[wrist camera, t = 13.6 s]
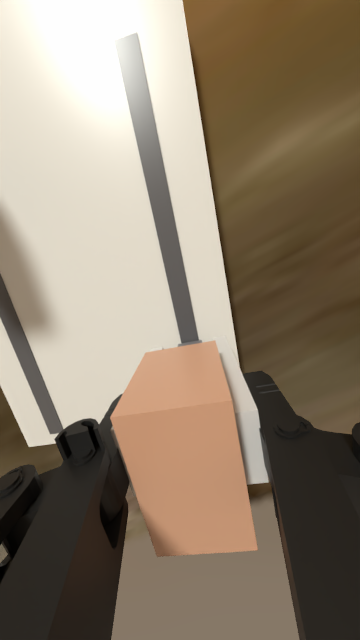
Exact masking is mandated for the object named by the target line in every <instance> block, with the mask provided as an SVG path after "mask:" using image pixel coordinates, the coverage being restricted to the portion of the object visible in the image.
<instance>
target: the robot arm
mask: <svg viewBox="0 0 360 640" xmlns="http://www.w3.org/2000/svg"><path fill="white" fill-rule="evenodd" d="M214 340H215V341H216V345H217V348H218V352H219V356H220V359H221V363H222V366H223V370H224V373H225V377H226V381H227V384H228V388H229V391H230V395H231V398H232V403H233V409H234V415H235V420H236V426H237V432H238V438H239V443H240V449H241V455H242V461H243V467H244V472H245V478H246V484H247V485H248V484H258V483H267V482H268V477H269V480H270V483H271V486H272V493H273V499H274V506H275V513H276V518H277V521H278V526H279V531H280V537H281V542H282V547H283V553H284V558H285V563H286V568H287V574H288V579H289V585H290V590H291V596H292V600H293V606H294V612H295V617H296V622H297V628H298V633H299V638H300V640H360V422H359V423H357V424H355V426H354V427H353V429H352V435H351V434H342V433H334V432H327V431H322V430H319V429H316V428H314V427H313V426H312V425H311V423H310V422H309V421H307V420H306V419H304V418H303V417H301V416H298V415H296V414H295V412H294V411H293V409H292V408H291V406H290V405H289V403H288V402H287V400H286V399H285V397H284V396H283V394H282V393H281V391H279V388H278V387H277V385H275V383H274V381H273V380H272V378H271V377H270V376H269V375H268V374H266V373H264V372H262V371H257V372H251V373H245V374H242V372H241V370H240V368H239V366H238V363H237V361H236V359H235V356H234V354H233V352H232V350H231V347H230V345H229V343H228V340H227V338H226V336H220V337H215V338H213V341H214ZM163 349H164V348H163V347H160V348H154V349H151V350H150V352H151V351H157V350H163ZM122 395H123V394H120V395H119V396H118V397H117V398H116V399H115V400H114V401H113V402H112V404H111V405H110V407H109V409H108V411H107V412H106V414H105V415H104V418H103V419H102V421H101V422H100V424H98V422H97V421H96V419H92V418H87V419H82V420H79V421H77V422H74V423H73V424H71V425H69V426H67V427H66V428H65V429H64V430H62V431H61V432H60V433H59V434H58V435H57V436H56V438H55V442H56V444H57V446H58V449H59V451H60V453H61V456H62V458H63V460H64V461H63V463H62V465H61V466H60V467H58V468H55V469H52V470H50V471H47V472H45V473H42V474H40V475H38V473H37V471H36V469H35V467H34V466H33V465H29V464H28V465H24V466H20V467H18V468H15V469H13V470H11V471H10V472H8V473H7V474H5V475H4V476H2V477H1V478H0V545H1V543H2V545H3V546H4V548H5V550H6V552H7V553H8V555H7V556H6V558H5V559H4V560H3V561H2V562H1V563H0V640H111V636H112V628H113V621H114V613H115V606H116V599H117V591H118V584H119V577H120V569H121V561H122V554H123V547H124V540H125V533H126V525H127V518H128V503H127V501H126V498H125V496H126V493H127V489H128V486H129V485H130V487H131V490H132V493H133V496H136V493H135V490H134V487H133V484H132V481H131V478H130V475H129V472H128V469H127V466H126V463H125V460H124V457H123V455H122V452H121V449H120V446H119V443H118V440H117V437H116V434H115V431H114V428H113V425H112V422H111V419H110V417H111V415H112V413H113V411H114V409H115V408H116V406H117V404H118V402H119V400H120V398H121V397H122ZM267 474H268V475H267Z"/></svg>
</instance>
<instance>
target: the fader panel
mask: <svg viewBox="0 0 360 640" xmlns="http://www.w3.org/2000/svg"><path fill="white" fill-rule="evenodd" d="M220 336H226V338H227V340H228V343H229V345H230V347H231V350H232V352H233V354H234V356H235V359H236V361H237V363H238V366H239V359H238V353H237V346H236V340H235V334H234V327H233V321H232V314H231V308H230V302H229V295H228V289H227V282H226V276H225V270H224V263H223V257H222V251H221V244H220V238H219V231H218V225H217V219H216V212H215V206H214V199H213V193H212V187H211V180H210V174H209V167H208V161H207V155H206V148H205V142H204V136H203V129H202V123H201V116H200V110H199V104H198V97H197V91H196V84H195V78H194V72H193V65H192V59H191V52H190V46H189V40H188V33H187V27H186V21H185V14H184V8H183V1H182V0H0V386H1V388H2V390H3V392H4V394H5V396H6V398H7V401H8V403H9V405H10V407H11V409H12V411H13V414H14V416H15V418H16V420H17V422H18V424H19V427H20V429H21V431H22V433H23V435H24V437H25V439H26V442H27V444H28V446H29V447H32V446H40V445H47V444H55V443H56V442H55V438H56V436H57V435H58V434H59V433H60V432H61V431H62V430H64V429H65V428H66V427H67V426H69V425H71V424H73V423H74V422H77V421H79V420H82V419H87V418H92V419H96V421H97V422H98V424H100V422H101V421H102V419H103V418H104V415H105V414H106V412H107V411H108V409H109V407H110V405H111V404H112V402H113V401H114V400H115V399H116V398H117V397H118V396H119V395H120V394H123V393H124V391H125V389H126V387H127V386H128V384H129V382H130V380H131V378H132V376H133V375H134V373H135V371H136V369H137V367H138V365H139V364H140V362H141V360H142V358H143V356H144V354H145V353H146V352H150V350H151V349H154V348H160V347H163V348H164V349H169V348H174V347H178V344H181V343H186V342H192V341H198V340H202V343H203V342H209V341H213V338H215V337H220ZM239 368H240V366H239Z"/></svg>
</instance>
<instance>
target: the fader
mask: <svg viewBox="0 0 360 640" xmlns="http://www.w3.org/2000/svg"><path fill="white" fill-rule="evenodd" d="M110 419H111V422H112V425H113V428H114V431H115V434H116V437H117V440H118V443H119V446H120V449H121V452H122V455H123V457H124V460H125V463H126V466H127V469H128V472H129V475H130V478H131V481H132V484H133V487H134V490H135V493H136V496H137V499H138V502H139V505H140V508H141V511H142V514H143V517H144V520H145V523H146V525H147V528H148V531H149V534H150V537H151V540H152V543H153V546H154V549H155V552H156V555H157V556H158V557H160V556H174V555H175V556H176V555H192V554H207V553H224V552H240V551H254V550H255V551H256V550H258V548H257V542H256V536H255V531H254V525H253V519H252V513H251V507H250V501H249V495H248V490H247V484H246V478H245V472H244V467H243V461H242V455H241V449H240V443H239V438H238V432H237V426H236V420H235V415H234V409H233V403H232V398H231V395H230V391H229V388H228V384H227V381H226V377H225V373H224V370H223V366H222V363H221V359H220V356H219V352H218V348H217V345H216V341H215V340H214V341H209V342H203V343H202V340H198V341H192V342H186V343H181V344H178V347H174V348H169V349H163V350H157V351H151V352H146V353H145V354H144V356H143V358H142V360H141V362H140V364H139V365H138V367H137V369H136V371H135V373H134V375H133V376H132V378H131V380H130V382H129V384H128V386H127V387H126V389H125V391H124V393H123V395H122V397H121V398H120V400H119V402H118V404H117V406H116V408H115V409H114V411H113V413H112V415H111V417H110Z"/></svg>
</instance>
